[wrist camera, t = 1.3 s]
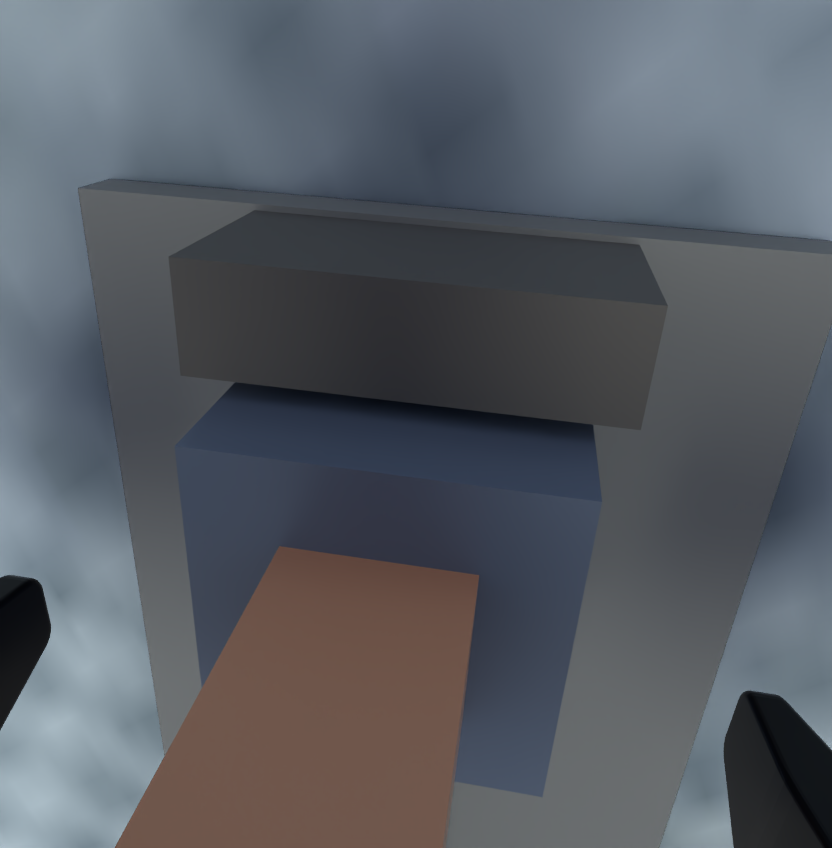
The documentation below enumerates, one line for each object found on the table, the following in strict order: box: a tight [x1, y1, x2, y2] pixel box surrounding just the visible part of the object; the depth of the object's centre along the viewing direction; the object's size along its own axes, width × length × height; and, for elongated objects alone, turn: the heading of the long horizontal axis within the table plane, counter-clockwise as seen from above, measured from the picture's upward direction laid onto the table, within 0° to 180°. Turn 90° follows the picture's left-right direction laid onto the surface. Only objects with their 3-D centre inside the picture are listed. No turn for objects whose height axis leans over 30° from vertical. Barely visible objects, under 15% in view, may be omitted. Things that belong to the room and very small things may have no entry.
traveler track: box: [78, 179, 832, 848], centre depth 15 cm, size 22×12×5 cm, turn 177°
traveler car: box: [115, 382, 602, 848], centre depth 9 cm, size 5×5×8 cm
